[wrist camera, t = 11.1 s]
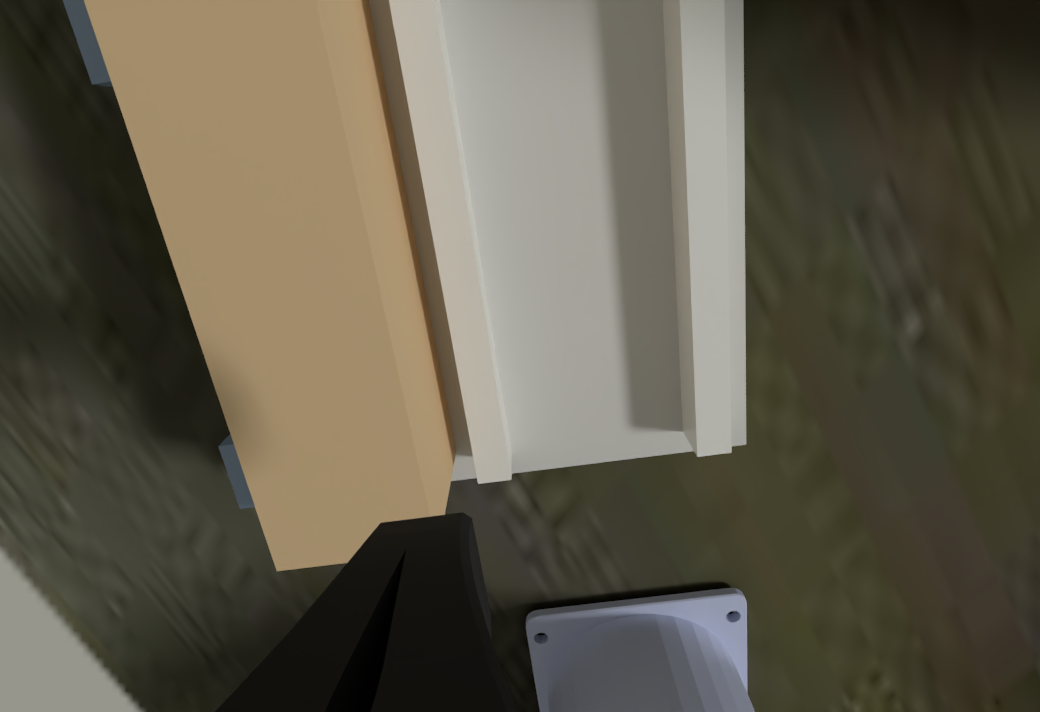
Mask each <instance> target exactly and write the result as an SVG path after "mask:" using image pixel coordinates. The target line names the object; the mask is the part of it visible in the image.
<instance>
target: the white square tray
mask: <svg viewBox="0 0 1040 712" xmlns="http://www.w3.org/2000/svg"><path fill="white" fill-rule="evenodd" d="M63 3H64V6H65V8H66V11H67V14H68V17H69V20H70V23H71V26H72V29H73V31H74V34H75V37H76V40H77V43H78V46H79V49H80V52H81V54H82V57H83V60H84V63H85V66H86V69H87V72H88V74H89V77H90V80H91V83H92V85H100V86H108V87H113V85H112V82H111V79H110V76H109V73H108V70H107V68H106V65H105V62H104V59H103V56H102V53H101V50H100V47H99V44H98V41H97V38H96V35H95V32H94V29H93V26H92V23H91V20H90V17H89V14H88V11H87V8H86V5H85V2H84V0H63ZM369 5H370V10H371V15H372V20H373V26H374V31H375V36H376V41H377V46H378V51H379V56H380V61H381V67H382V72H383V77H384V82H385V87H386V92H387V97H388V102H389V108H390V113H391V118H392V123H393V128H394V133H395V138H396V144H397V149H398V154H399V159H400V164H401V169H402V174H403V179H404V185H405V190H406V195H407V200H408V205H409V210H410V215H411V220H412V226H413V231H414V236H415V241H416V246H417V251H418V256H419V261H420V267H421V272H422V277H423V282H424V287H425V292H426V297H427V303H428V308H429V313H430V318H431V323H432V328H433V333H434V338H435V344H436V349H437V354H438V359H439V364H440V369H441V374H442V379H443V385H444V390H445V395H446V400H447V405H448V410H449V415H450V420H451V426H452V431H453V436H454V441H455V446H456V455H455V461H454V466H453V472H452V477H451V481H455V480H463V479H471V478H477V481H478V484H481V483H489V482H497V481H505V480H511V474H512V473H520V472H528V471H536V470H544V469H552V468H560V467H569V466H577V465H585V464H593V463H601V462H609V461H617V460H625V459H633V458H641V457H650V456H658V455H666V454H674V453H682V452H690V451H694V452H695V454H696V455H697V457H700V456H708V455H716V454H724V453H732V446H739V445H746V334H745V178H744V22H743V0H369ZM218 447H219V450H220V453H221V456H222V459H223V462H224V465H225V467H226V470H227V473H228V476H229V479H230V482H231V485H232V488H233V490H234V493H235V496H236V499H237V502H238V505H239V508H240V509H243V508H251V507H255V505H254V502H253V499H252V496H251V493H250V490H249V487H248V484H247V482H246V479H245V476H244V473H243V470H242V467H241V464H240V461H239V458H238V455H237V452H236V449H235V446H234V443H233V440H232V437H231V434H229V436H228V437H227V438H226V439H225V440H224V441H223V442H222V443H221V444H220V445H219V446H218Z"/></svg>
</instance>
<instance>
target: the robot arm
mask: <svg viewBox="0 0 1040 712" xmlns="http://www.w3.org/2000/svg"><path fill="white" fill-rule="evenodd" d="M731 611H735V612H734V613H732V614H728V613H729V612H731ZM526 633H527V639H528V645H529V650H530V656H531V662H532V668H533V674H534V680H535V686H536V692H537V698H538V704H539V710H540V712H755V711H754V708H753V706H752V704H751V701H750V699H749V696H748V694H747V602H746V599H745V597H744V595H743V593H742V592H741V591H740V590H739V589H736V588H724V589H715V590H706V591H697V592H689V593H680V594H671V595H663V596H654V597H645V598H636V599H628V600H619V601H610V602H602V603H593V604H584V605H576V606H567V607H558V608H549V609H541V610H535V611H532V612H531V613H529V614H528V615H527V617H526ZM538 633H545V635H542V636H540V635H537V634H538ZM215 712H519V711H518V708H517V706H516V704H515V701H514V699H513V696H512V694H511V691H510V689H509V686H508V684H507V681H506V679H505V676H504V674H503V671H502V668H501V665H500V663H499V660H498V657H497V654H496V652H495V649H494V646H493V643H492V630H491V613H490V608H489V603H488V598H487V593H486V588H485V583H484V578H483V573H482V568H481V562H480V557H479V552H478V547H477V542H476V537H475V532H474V527H473V522H472V518H470V517H469V516H467V515H466V514H465V513H455V514H447V515H439V516H431V517H423V518H415V519H407V520H399V521H391V522H383V523H380V524H379V525H378V527H377V528H376V529H375V530H374V531H373V532H372V534H371V535H370V536H369V537H368V538H367V540H366V541H365V542H364V543H363V544H362V546H361V547H360V548H359V549H358V551H357V552H356V553H355V554H354V555H353V557H352V558H351V559H350V560H349V562H348V563H347V564H346V565H345V566H344V568H343V569H342V570H341V571H340V573H339V574H338V575H337V576H336V577H335V579H334V580H333V581H332V582H331V584H330V585H329V586H328V587H327V588H326V590H325V591H324V592H323V593H322V594H321V596H320V597H319V598H318V599H317V600H316V601H315V603H314V604H313V605H312V606H311V607H310V608H309V610H308V611H307V612H306V613H305V614H304V616H303V617H302V618H301V619H300V620H299V621H298V623H297V624H296V625H295V626H294V627H293V628H292V630H291V631H290V632H289V633H288V634H287V635H286V636H285V637H284V639H283V640H282V641H281V642H280V643H279V644H278V645H277V646H276V647H275V648H274V649H273V650H272V652H271V653H270V654H269V655H268V656H267V657H266V658H265V659H264V660H263V661H262V662H261V663H260V665H259V666H258V667H257V668H256V669H255V670H254V671H253V672H252V673H251V674H250V675H249V676H248V678H247V679H246V680H245V681H244V682H243V683H242V684H241V685H240V686H239V687H238V688H237V689H236V690H235V692H234V693H233V694H232V695H231V696H230V697H229V698H228V699H227V700H226V701H225V702H224V703H223V704H222V705H221V706H220V707H219V708H218V709H217V710H216V711H215Z"/></svg>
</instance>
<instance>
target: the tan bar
mask: <svg viewBox="0 0 1040 712" xmlns="http://www.w3.org/2000/svg"><path fill="white" fill-rule="evenodd" d="M84 2H85V5H86V8H87V11H88V14H89V17H90V20H91V23H92V26H93V29H94V32H95V35H96V38H97V41H98V44H99V47H100V50H101V53H102V56H103V59H104V62H105V65H106V68H107V70H108V73H109V76H110V79H111V82H112V85H113V88H114V91H115V94H116V97H117V100H118V103H119V106H120V109H121V112H122V115H123V118H124V121H125V124H126V127H127V130H128V133H129V136H130V139H131V141H132V144H133V147H134V150H135V153H136V156H137V159H138V162H139V165H140V168H141V171H142V174H143V177H144V180H145V183H146V186H147V189H148V192H149V195H150V198H151V201H152V204H153V207H154V209H155V212H156V215H157V218H158V221H159V224H160V227H161V230H162V233H163V236H164V239H165V242H166V245H167V248H168V251H169V254H170V257H171V260H172V263H173V266H174V269H175V272H176V275H177V277H178V280H179V283H180V286H181V289H182V292H183V295H184V298H185V301H186V304H187V307H188V310H189V313H190V316H191V319H192V322H193V325H194V328H195V331H196V334H197V337H198V340H199V343H200V346H201V348H202V351H203V354H204V357H205V360H206V363H207V366H208V369H209V372H210V375H211V378H212V381H213V384H214V387H215V390H216V393H217V396H218V399H219V402H220V405H221V408H222V411H223V414H224V416H225V419H226V422H227V425H228V428H229V431H230V434H231V437H232V440H233V443H234V446H235V449H236V452H237V455H238V458H239V461H240V464H241V467H242V470H243V473H244V476H245V479H246V482H247V484H248V487H249V490H250V493H251V496H252V499H253V502H254V505H255V508H256V511H257V514H258V517H259V520H260V523H261V526H262V529H263V532H264V535H265V538H266V541H267V544H268V547H269V550H270V553H271V555H272V558H273V561H274V564H275V567H276V570H277V571H283V570H291V569H300V568H308V567H316V566H325V565H333V564H341V563H348V562H349V560H350V559H351V558H352V557H353V555H354V554H355V553H356V552H357V551H358V549H359V548H360V547H361V546H362V544H363V543H364V542H365V541H366V540H367V538H368V537H369V536H370V535H371V534H372V532H373V531H374V530H375V529H376V528H377V527H378V525H379V524H380V523H383V522H391V521H399V520H407V519H415V518H423V517H431V516H439V515H445V510H446V505H447V499H448V494H449V488H450V483H451V477H452V472H453V466H454V461H455V455H456V446H455V441H454V436H453V431H452V426H451V420H450V415H449V410H448V405H447V400H446V395H445V390H444V385H443V379H442V374H441V369H440V364H439V359H438V354H437V349H436V344H435V338H434V333H433V328H432V323H431V318H430V313H429V308H428V303H427V297H426V292H425V287H424V282H423V277H422V272H421V267H420V261H419V256H418V251H417V246H416V241H415V236H414V231H413V226H412V220H411V215H410V210H409V205H408V200H407V195H406V190H405V185H404V179H403V174H402V169H401V164H400V159H399V154H398V149H397V144H396V138H395V133H394V128H393V123H392V118H391V113H390V108H389V102H388V97H387V92H386V87H385V82H384V77H383V72H382V67H381V61H380V56H379V51H378V46H377V41H376V36H375V31H374V26H373V20H372V15H371V10H370V5H369V0H84Z"/></svg>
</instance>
